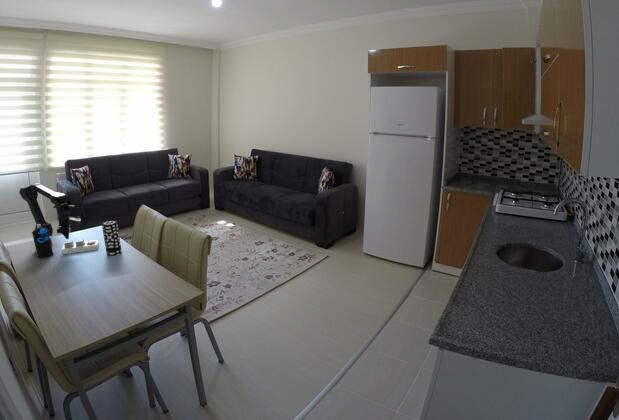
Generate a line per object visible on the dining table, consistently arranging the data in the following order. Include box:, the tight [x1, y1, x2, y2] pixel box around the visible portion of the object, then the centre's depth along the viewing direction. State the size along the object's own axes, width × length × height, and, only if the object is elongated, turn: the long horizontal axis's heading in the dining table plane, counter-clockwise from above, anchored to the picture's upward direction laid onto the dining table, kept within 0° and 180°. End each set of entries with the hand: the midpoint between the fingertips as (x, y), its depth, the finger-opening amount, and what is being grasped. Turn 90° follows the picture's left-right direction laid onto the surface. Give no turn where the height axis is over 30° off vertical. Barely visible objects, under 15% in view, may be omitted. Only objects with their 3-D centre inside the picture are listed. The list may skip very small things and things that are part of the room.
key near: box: [63, 240, 74, 248], centre depth 224 cm, size 4×4×3 cm
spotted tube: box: [101, 220, 123, 257], centre depth 219 cm, size 8×8×20 cm
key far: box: [86, 239, 96, 245], centre depth 230 cm, size 4×4×3 cm
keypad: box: [61, 239, 100, 255], centre depth 228 cm, size 19×9×3 cm, turn 116°
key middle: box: [75, 238, 85, 246], centre depth 227 cm, size 4×4×3 cm
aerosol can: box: [31, 224, 55, 259], centre depth 215 cm, size 8×8×20 cm
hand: (67, 238), depth 223 cm, fingers closed
